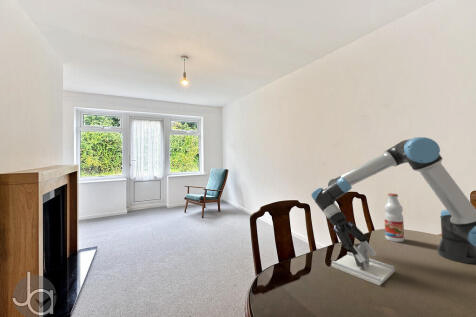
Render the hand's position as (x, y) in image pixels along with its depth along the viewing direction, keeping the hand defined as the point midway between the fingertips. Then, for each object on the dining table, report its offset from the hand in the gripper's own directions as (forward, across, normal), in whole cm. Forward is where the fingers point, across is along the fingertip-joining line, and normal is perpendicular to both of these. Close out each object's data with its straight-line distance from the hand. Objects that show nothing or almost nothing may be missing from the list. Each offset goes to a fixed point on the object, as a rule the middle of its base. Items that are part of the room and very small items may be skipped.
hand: (368, 258), depth 94 cm
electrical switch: (+1, 0, -5) cm, 5 cm away
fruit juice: (-3, -52, -12) cm, 53 cm away
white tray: (+2, 0, -6) cm, 7 cm away
